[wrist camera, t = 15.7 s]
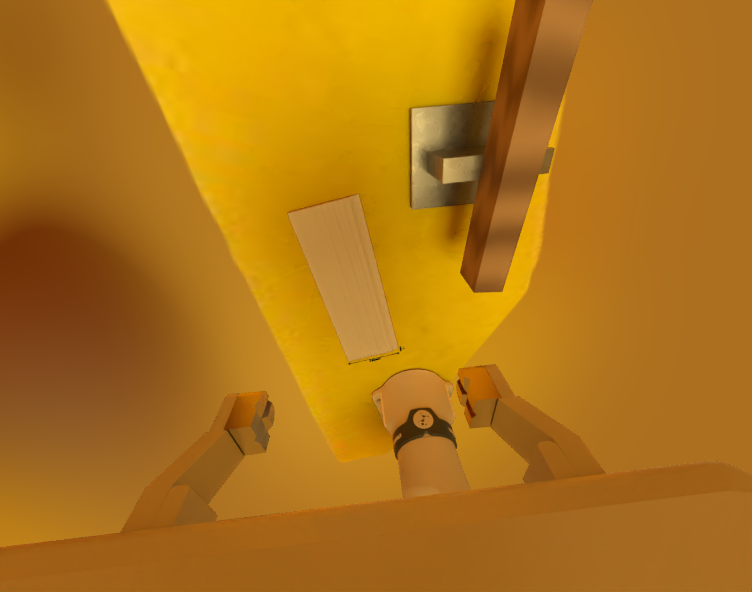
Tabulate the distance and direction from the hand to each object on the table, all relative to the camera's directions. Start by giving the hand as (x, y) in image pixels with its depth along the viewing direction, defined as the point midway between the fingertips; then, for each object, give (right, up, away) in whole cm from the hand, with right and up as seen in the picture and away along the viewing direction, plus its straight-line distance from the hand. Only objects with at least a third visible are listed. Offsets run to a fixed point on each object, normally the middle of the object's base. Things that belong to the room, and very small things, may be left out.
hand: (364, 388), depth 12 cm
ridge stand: (+13, +23, +26) cm, 37 cm away
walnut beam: (+14, +18, +18) cm, 29 cm away
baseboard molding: (-3, +5, +37) cm, 37 cm away
